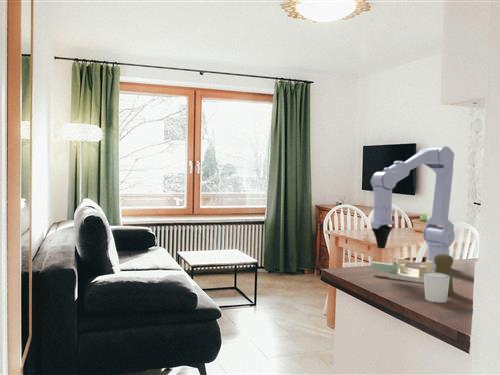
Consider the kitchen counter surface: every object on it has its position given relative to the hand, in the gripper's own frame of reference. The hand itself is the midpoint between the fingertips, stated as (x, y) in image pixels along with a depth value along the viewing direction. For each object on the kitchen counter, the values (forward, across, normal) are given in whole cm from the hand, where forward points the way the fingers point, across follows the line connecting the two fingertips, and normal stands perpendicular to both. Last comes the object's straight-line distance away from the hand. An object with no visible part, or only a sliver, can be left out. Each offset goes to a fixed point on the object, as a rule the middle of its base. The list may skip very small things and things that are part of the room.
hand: (381, 247), depth 152 cm
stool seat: (+10, +6, -9) cm, 14 cm away
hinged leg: (+8, +1, -1) cm, 8 cm away
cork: (+10, -7, -21) cm, 24 cm away
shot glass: (+10, -17, -22) cm, 29 cm away
